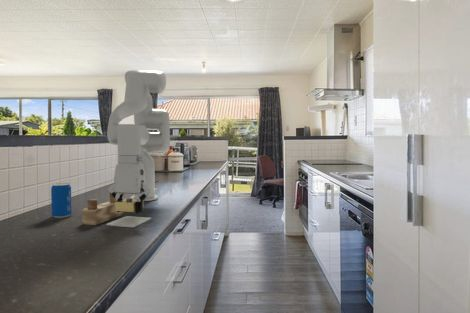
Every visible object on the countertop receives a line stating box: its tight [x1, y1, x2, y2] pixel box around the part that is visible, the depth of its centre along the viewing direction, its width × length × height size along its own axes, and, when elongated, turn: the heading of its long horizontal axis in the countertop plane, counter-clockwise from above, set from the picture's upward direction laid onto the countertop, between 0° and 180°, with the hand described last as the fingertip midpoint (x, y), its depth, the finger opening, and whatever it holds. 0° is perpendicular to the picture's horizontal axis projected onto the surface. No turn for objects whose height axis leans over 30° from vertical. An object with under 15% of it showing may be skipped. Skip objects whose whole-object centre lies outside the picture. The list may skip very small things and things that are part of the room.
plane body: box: [81, 191, 124, 226], centre depth 119 cm, size 16×5×9 cm, turn 166°
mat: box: [106, 215, 152, 228], centre depth 116 cm, size 12×10×1 cm
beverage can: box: [50, 182, 73, 219], centre depth 122 cm, size 6×6×12 cm
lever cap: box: [115, 197, 137, 213], centre depth 115 cm, size 7×6×4 cm
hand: (129, 211), depth 116 cm, fingers closed on lever cap, 6 cm apart
